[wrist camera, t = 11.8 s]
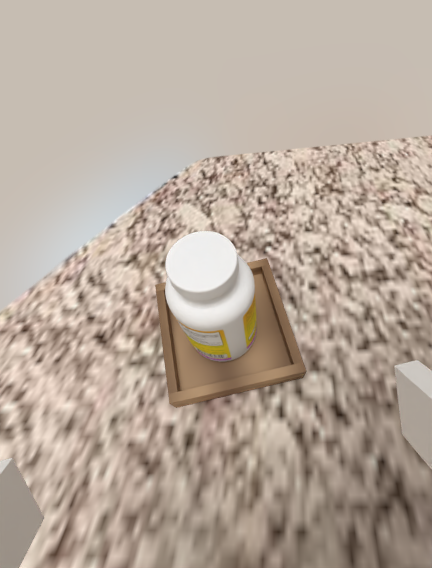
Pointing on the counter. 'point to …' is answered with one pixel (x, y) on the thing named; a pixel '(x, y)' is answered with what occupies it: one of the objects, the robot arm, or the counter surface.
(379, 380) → the counter surface
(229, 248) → the supplement bottle
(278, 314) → the walnut tray
